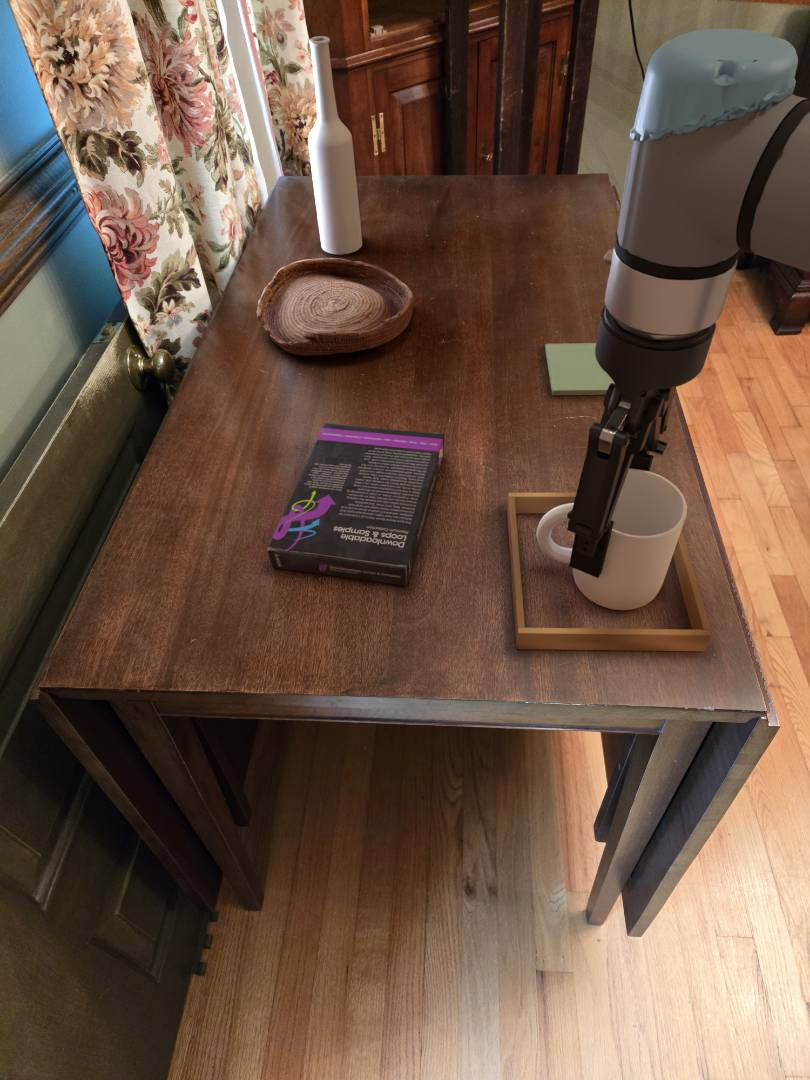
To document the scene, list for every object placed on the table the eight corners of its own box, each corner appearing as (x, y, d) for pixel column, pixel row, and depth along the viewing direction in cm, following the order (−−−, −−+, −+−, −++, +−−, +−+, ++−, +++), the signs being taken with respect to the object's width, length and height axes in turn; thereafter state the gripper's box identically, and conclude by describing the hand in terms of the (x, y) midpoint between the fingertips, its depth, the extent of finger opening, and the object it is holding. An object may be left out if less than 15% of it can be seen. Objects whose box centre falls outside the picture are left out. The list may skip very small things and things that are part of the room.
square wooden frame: (665, 509, 74) (671, 492, 72) (704, 651, 63) (712, 635, 61) (506, 509, 75) (508, 492, 73) (516, 649, 64) (518, 633, 62)
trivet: (636, 394, 87) (637, 389, 87) (552, 395, 88) (552, 390, 87) (623, 347, 94) (624, 342, 93) (545, 348, 94) (545, 343, 94)
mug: (527, 600, 67) (536, 524, 60) (536, 535, 73) (546, 458, 65) (661, 620, 65) (688, 544, 58) (660, 551, 70) (686, 474, 63)
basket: (230, 324, 102) (222, 291, 98) (336, 269, 111) (332, 237, 107) (339, 387, 91) (334, 353, 87) (445, 320, 100) (445, 287, 96)
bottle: (352, 231, 119) (331, 29, 99) (369, 247, 115) (352, 40, 94) (315, 241, 117) (286, 37, 97) (331, 258, 113) (305, 49, 93)
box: (328, 445, 84) (269, 570, 71) (323, 420, 82) (262, 545, 69) (446, 457, 82) (407, 589, 69) (445, 432, 79) (405, 565, 66)
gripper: (659, 233, 56) (610, 454, 73) (539, 377, 44) (514, 599, 61) (760, 255, 53) (684, 480, 70) (659, 416, 42) (598, 637, 59)
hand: (605, 535), depth 66 cm, fingers closed on mug, 8 cm apart
